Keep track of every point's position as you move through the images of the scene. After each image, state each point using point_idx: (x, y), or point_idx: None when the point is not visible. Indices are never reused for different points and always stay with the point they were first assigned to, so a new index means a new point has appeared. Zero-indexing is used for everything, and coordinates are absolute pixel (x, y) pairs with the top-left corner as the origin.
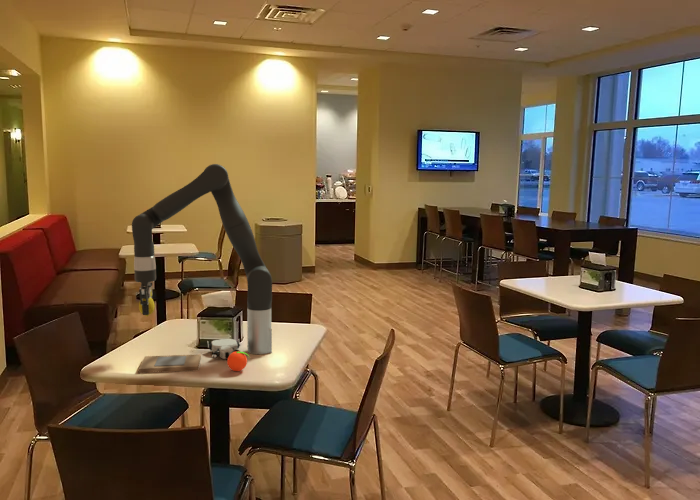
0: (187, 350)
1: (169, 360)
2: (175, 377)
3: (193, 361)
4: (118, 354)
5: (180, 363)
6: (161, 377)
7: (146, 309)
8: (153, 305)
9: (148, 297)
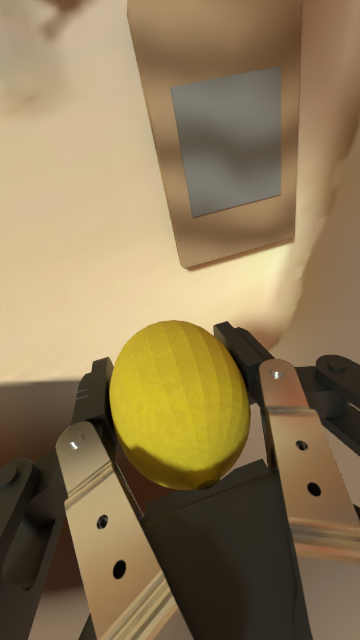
0: (27, 134)
1: (230, 155)
2: (342, 90)
3: (237, 23)
4: None
5: (266, 89)
6: (331, 146)
7: (260, 346)
8: (189, 339)
9: (315, 420)
